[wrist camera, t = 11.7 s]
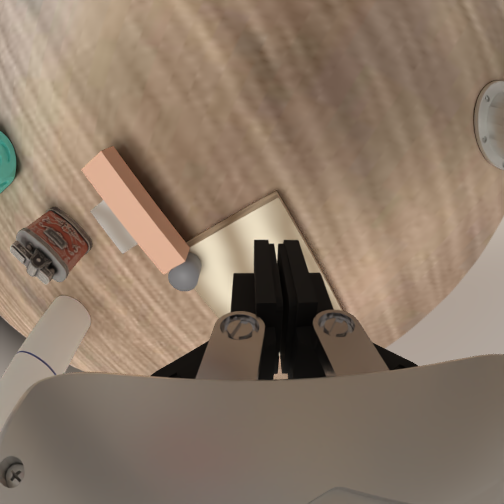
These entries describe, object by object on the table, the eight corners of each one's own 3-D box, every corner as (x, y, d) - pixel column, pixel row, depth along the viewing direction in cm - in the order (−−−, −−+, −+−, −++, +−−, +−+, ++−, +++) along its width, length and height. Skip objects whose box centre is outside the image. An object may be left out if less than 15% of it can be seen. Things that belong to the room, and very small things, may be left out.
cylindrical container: (89, 302, 41) (12, 442, 19) (92, 336, 44) (33, 467, 22) (50, 290, 40) (-34, 414, 18) (56, 324, 44) (-11, 443, 21)
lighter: (96, 240, 37) (60, 282, 28) (85, 257, 38) (50, 300, 29) (53, 201, 34) (8, 233, 25) (44, 218, 35) (1, 253, 26)
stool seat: (228, 112, 30) (225, 114, 26) (344, 312, 42) (352, 333, 38) (106, 197, 34) (90, 211, 30) (239, 359, 46) (238, 381, 42)
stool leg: (207, 268, 35) (204, 282, 33) (185, 280, 36) (180, 295, 33) (113, 145, 29) (101, 150, 26) (93, 163, 29) (80, 170, 27)
